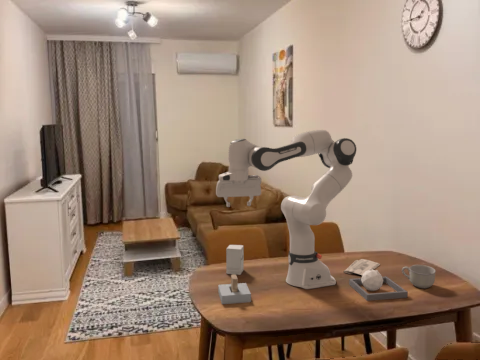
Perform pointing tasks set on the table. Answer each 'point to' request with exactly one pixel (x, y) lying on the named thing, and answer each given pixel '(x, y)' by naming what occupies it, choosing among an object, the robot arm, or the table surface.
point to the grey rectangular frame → (379, 296)
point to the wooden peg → (234, 283)
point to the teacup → (420, 275)
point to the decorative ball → (372, 280)
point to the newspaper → (361, 266)
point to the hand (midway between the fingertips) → (238, 206)
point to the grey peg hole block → (234, 294)
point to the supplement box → (234, 259)
